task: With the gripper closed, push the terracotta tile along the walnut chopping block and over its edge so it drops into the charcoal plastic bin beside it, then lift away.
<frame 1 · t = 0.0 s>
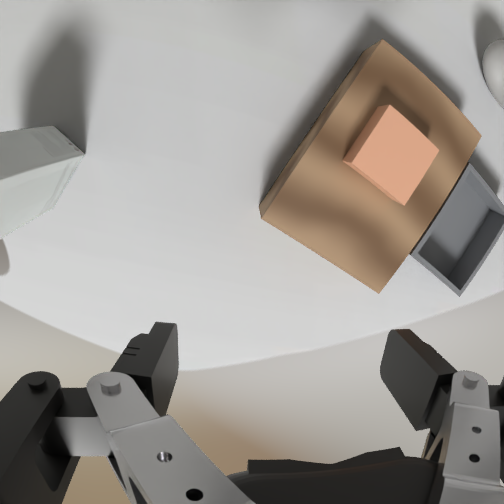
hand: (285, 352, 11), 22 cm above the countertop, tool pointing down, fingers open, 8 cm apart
chopping block: (368, 164, 31), on the countertop
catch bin: (448, 223, 33), on the countertop
skincare box: (53, 170, 30), on the countertop
donut: (488, 82, 27), on the countertop
tile: (386, 153, 26), point 5 cm above the countertop, touching chopping block
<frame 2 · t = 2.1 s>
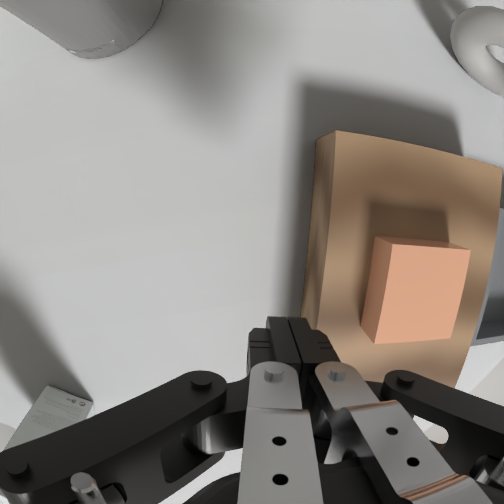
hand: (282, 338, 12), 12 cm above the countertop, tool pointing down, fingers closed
chopping block: (387, 276, 25), on the countertop
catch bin: (494, 269, 25), on the countertop
skincare box: (75, 418, 27), on the countertop
donut: (468, 68, 21), on the countertop
tile: (407, 283, 19), point 5 cm above the countertop, touching chopping block
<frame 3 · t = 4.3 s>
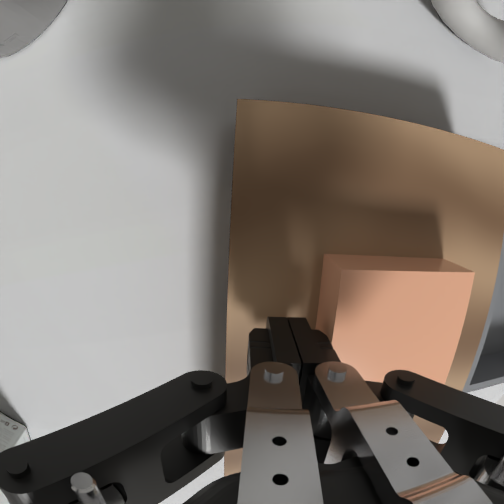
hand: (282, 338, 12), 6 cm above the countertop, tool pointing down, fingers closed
chopping block: (347, 304, 19), on the countertop
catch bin: (498, 288, 19), on the countertop
skincare box: (16, 440, 21), on the countertop
donut: (456, 30, 15), on the countertop
tile: (379, 321, 14), point 5 cm above the countertop, touching chopping block, gripper
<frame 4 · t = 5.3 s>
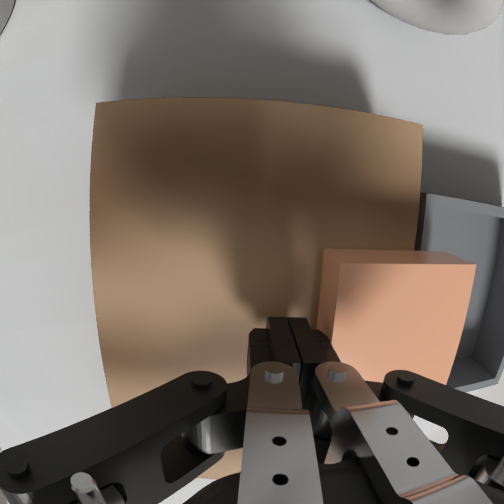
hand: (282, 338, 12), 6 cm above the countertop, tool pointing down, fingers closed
chopping block: (247, 301, 18), on the countertop
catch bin: (442, 289, 19), on the countertop
donut: (385, 4, 15), on the countertop
tile: (381, 315, 13), point 5 cm above the countertop, touching gripper
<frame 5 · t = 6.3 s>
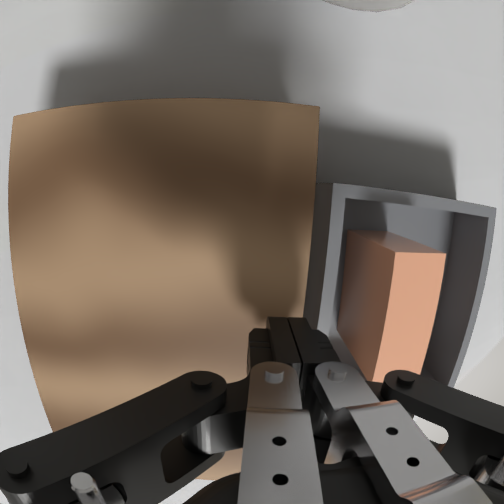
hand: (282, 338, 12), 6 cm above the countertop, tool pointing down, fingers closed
chopping block: (164, 297, 18), on the countertop
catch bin: (381, 290, 19), on the countertop
tile: (360, 300, 15), point 4 cm above the countertop, tilted 90°, touching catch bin
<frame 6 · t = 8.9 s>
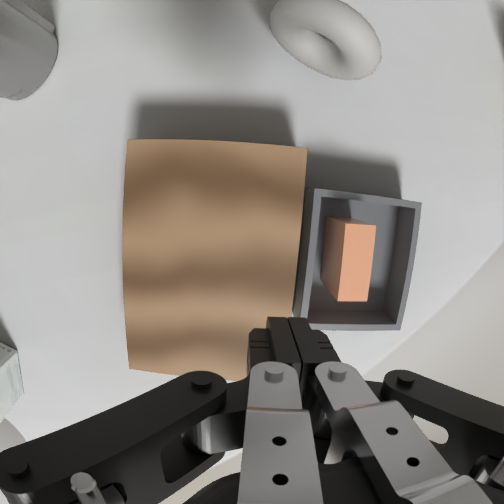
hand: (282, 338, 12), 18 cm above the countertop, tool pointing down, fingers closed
chopping block: (212, 256, 30), on the countertop
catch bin: (349, 256, 30), on the countertop
skincare box: (8, 366, 33), on the countertop
donut: (312, 59, 27), on the countertop
tile: (331, 255, 26), point 4 cm above the countertop, tilted 90°, touching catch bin
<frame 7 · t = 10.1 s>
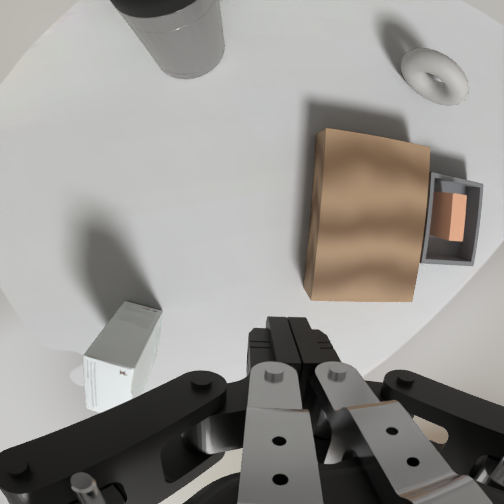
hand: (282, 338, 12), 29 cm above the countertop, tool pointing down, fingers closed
chopping block: (361, 216, 41), on the countertop
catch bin: (440, 218, 41), on the countertop
skincare box: (142, 330, 43), on the countertop
donut: (416, 86, 37), on the countertop
tile: (438, 214, 37), point 4 cm above the countertop, tilted 90°, touching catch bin
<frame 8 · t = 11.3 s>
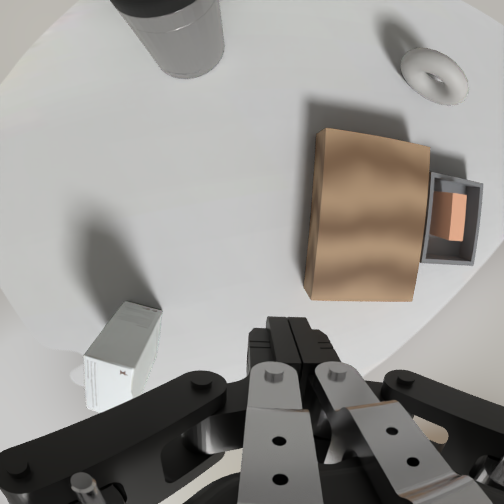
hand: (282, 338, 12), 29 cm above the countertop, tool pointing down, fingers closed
chopping block: (361, 216, 41), on the countertop
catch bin: (440, 218, 41), on the countertop
skincare box: (142, 330, 43), on the countertop
donut: (416, 86, 37), on the countertop
tile: (438, 214, 37), point 4 cm above the countertop, tilted 90°, touching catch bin
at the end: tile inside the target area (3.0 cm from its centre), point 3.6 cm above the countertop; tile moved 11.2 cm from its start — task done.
